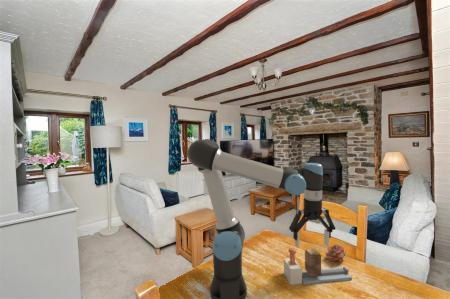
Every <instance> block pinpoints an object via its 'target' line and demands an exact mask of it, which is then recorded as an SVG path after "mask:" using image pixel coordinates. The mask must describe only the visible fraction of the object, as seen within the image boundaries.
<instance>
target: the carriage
mask: <svg viewBox="0 0 450 299" xmlns="http://www.w3.org/2000/svg"><path fill="white" fill-rule="evenodd" d="M321 269H322V254H321V253H320V252H319V251H318V250H317V249H316V248H308V249H306V250H304V271H307V273H308V274H309V275H310V276H318V275H321Z"/></svg>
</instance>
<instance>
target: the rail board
mask: <svg viewBox="0 0 450 299" xmlns="http://www.w3.org/2000/svg"><path fill="white" fill-rule="evenodd" d="M349 271H350V270H349V269H348V268H347V267H346V266H343V267H333V268H323V269H322V268H321V275H318V276H310V275H309V274H308V273H307V271H306V270H302V284H303V285H311V284H313V285H314V284H320V283H321V284H323V283H331V282H332V283H333V282H345V281H352V280H353V276H351V275H350V273H349Z"/></svg>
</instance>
